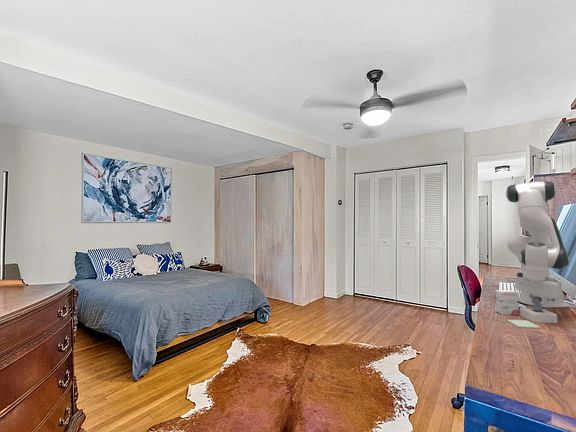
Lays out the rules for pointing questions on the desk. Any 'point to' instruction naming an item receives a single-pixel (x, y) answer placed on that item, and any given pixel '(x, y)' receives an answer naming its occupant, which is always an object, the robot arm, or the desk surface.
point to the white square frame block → (538, 315)
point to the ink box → (507, 302)
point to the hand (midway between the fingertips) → (537, 304)
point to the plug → (537, 304)
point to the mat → (523, 324)
